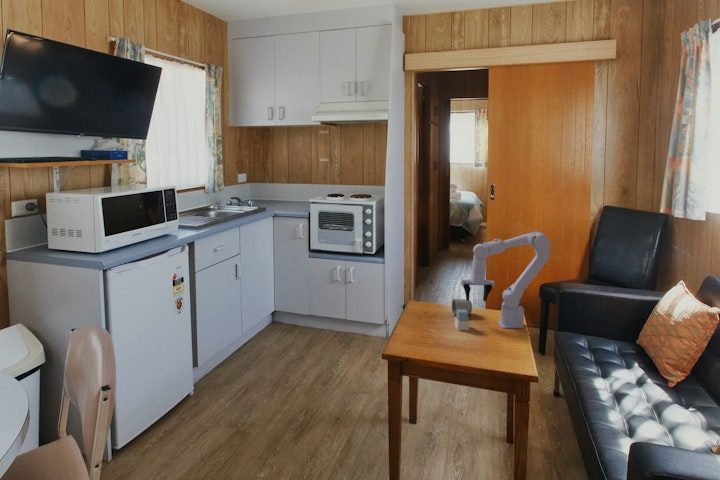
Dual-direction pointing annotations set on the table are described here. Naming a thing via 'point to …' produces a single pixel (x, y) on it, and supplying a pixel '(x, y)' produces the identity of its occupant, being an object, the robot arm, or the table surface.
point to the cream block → (461, 325)
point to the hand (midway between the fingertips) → (476, 300)
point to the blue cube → (462, 315)
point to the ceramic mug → (461, 305)
